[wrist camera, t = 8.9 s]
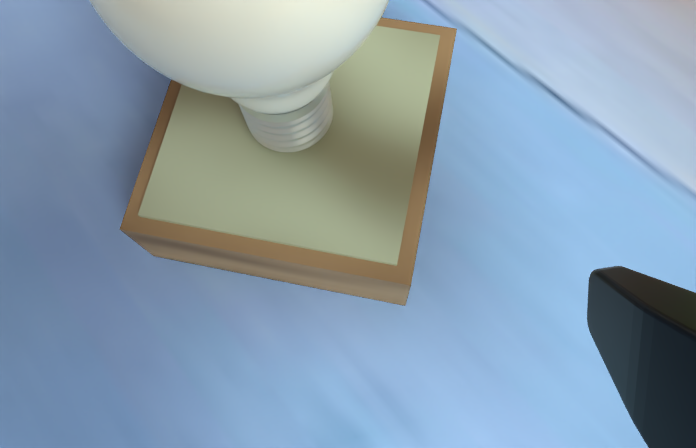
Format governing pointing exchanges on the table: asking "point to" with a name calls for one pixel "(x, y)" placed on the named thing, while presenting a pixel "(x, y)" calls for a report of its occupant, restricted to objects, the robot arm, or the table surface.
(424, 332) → the table surface
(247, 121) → the lightbulb
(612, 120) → the table surface
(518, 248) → the table surface
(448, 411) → the table surface
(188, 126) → the pedestal
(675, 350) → the robot arm
